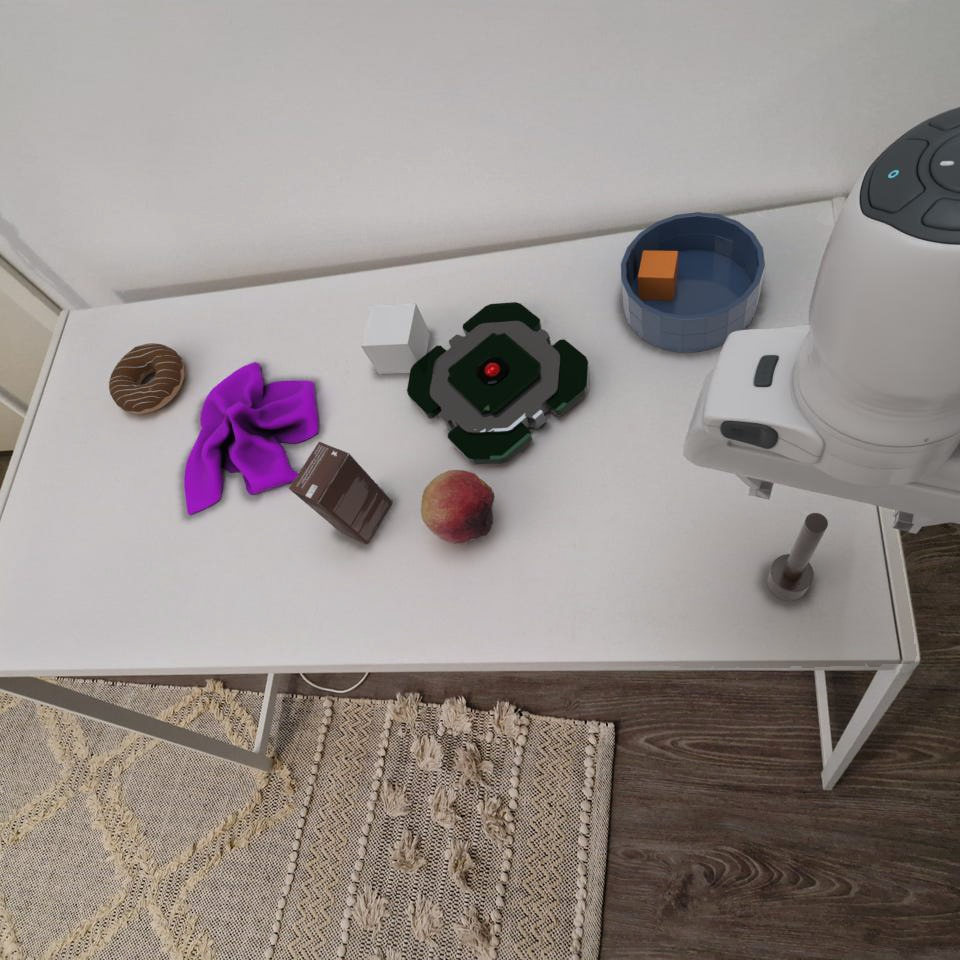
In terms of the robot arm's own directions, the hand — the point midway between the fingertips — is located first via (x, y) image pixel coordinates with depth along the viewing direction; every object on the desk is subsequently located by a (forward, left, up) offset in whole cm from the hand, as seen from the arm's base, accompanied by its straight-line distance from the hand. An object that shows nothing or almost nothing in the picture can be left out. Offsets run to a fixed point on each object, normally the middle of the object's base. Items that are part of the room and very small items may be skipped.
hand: (830, 504), depth 50 cm
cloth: (+65, +1, -19) cm, 67 cm away
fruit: (+33, +3, -19) cm, 38 cm away
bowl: (+18, -31, -19) cm, 40 cm away
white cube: (+50, -16, -19) cm, 56 cm away
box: (+45, +6, -19) cm, 49 cm away
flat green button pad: (+36, -14, -19) cm, 43 cm away
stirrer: (0, 0, -19) cm, 19 cm away
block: (+22, -32, -18) cm, 42 cm away
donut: (+84, -3, -19) cm, 86 cm away
